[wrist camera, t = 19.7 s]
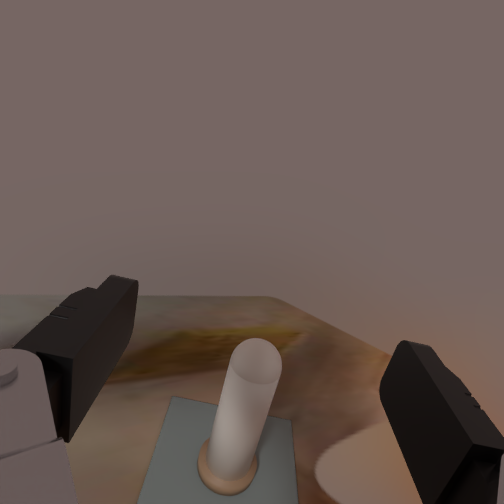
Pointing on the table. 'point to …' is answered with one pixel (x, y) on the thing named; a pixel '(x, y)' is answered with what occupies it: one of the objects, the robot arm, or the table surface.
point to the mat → (187, 451)
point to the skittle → (240, 418)
